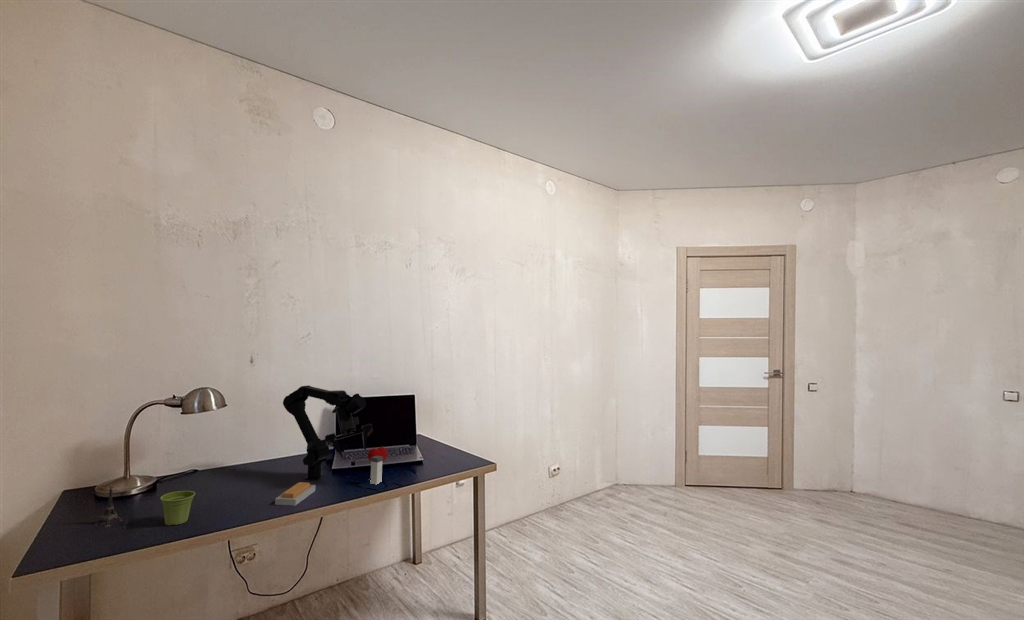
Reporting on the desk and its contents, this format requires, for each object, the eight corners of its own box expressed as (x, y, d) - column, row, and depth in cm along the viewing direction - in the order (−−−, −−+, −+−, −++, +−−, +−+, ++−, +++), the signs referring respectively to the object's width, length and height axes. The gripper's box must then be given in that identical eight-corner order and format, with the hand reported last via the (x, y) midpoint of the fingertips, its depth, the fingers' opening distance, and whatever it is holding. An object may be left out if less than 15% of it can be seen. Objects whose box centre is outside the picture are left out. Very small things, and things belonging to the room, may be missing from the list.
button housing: (296, 489, 189) (296, 484, 189) (315, 490, 188) (315, 485, 188) (274, 504, 173) (275, 498, 173) (295, 505, 172) (295, 499, 172)
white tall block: (369, 484, 196) (370, 457, 197) (375, 481, 200) (376, 455, 200) (376, 485, 195) (377, 458, 195) (382, 483, 198) (383, 456, 199)
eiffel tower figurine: (126, 530, 150) (129, 487, 150) (84, 536, 144) (87, 492, 145) (133, 513, 162) (136, 474, 163) (95, 519, 157) (97, 478, 158)
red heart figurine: (382, 466, 224) (383, 444, 224) (390, 469, 218) (390, 447, 219) (364, 469, 217) (365, 447, 218) (371, 473, 212) (372, 451, 212)
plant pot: (181, 514, 162) (183, 488, 162) (200, 519, 158) (201, 493, 158) (152, 524, 153) (153, 497, 153) (170, 530, 149) (172, 502, 150)
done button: (298, 486, 187) (299, 482, 187) (309, 487, 187) (309, 482, 187) (282, 498, 174) (282, 493, 174) (293, 498, 174) (293, 493, 174)
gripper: (321, 418, 189) (329, 455, 182) (368, 405, 197) (378, 441, 190) (322, 427, 197) (329, 463, 191) (367, 415, 206) (376, 449, 199)
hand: (353, 454), depth 193 cm, fingers open, 9 cm apart
